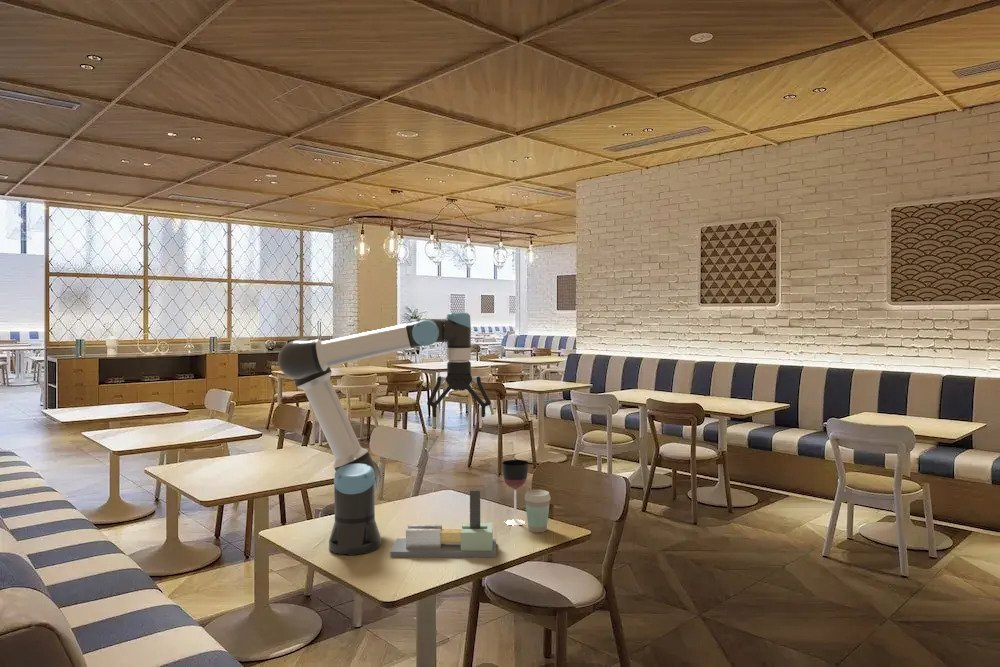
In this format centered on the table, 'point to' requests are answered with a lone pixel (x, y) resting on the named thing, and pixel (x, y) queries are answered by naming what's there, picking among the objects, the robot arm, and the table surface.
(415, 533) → the steel sleeve
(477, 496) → the sliding bolt with handle
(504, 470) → the wineglass
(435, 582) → the table surface
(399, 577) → the table surface
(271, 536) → the table surface
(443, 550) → the base board
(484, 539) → the socket block
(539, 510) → the coffee cup
